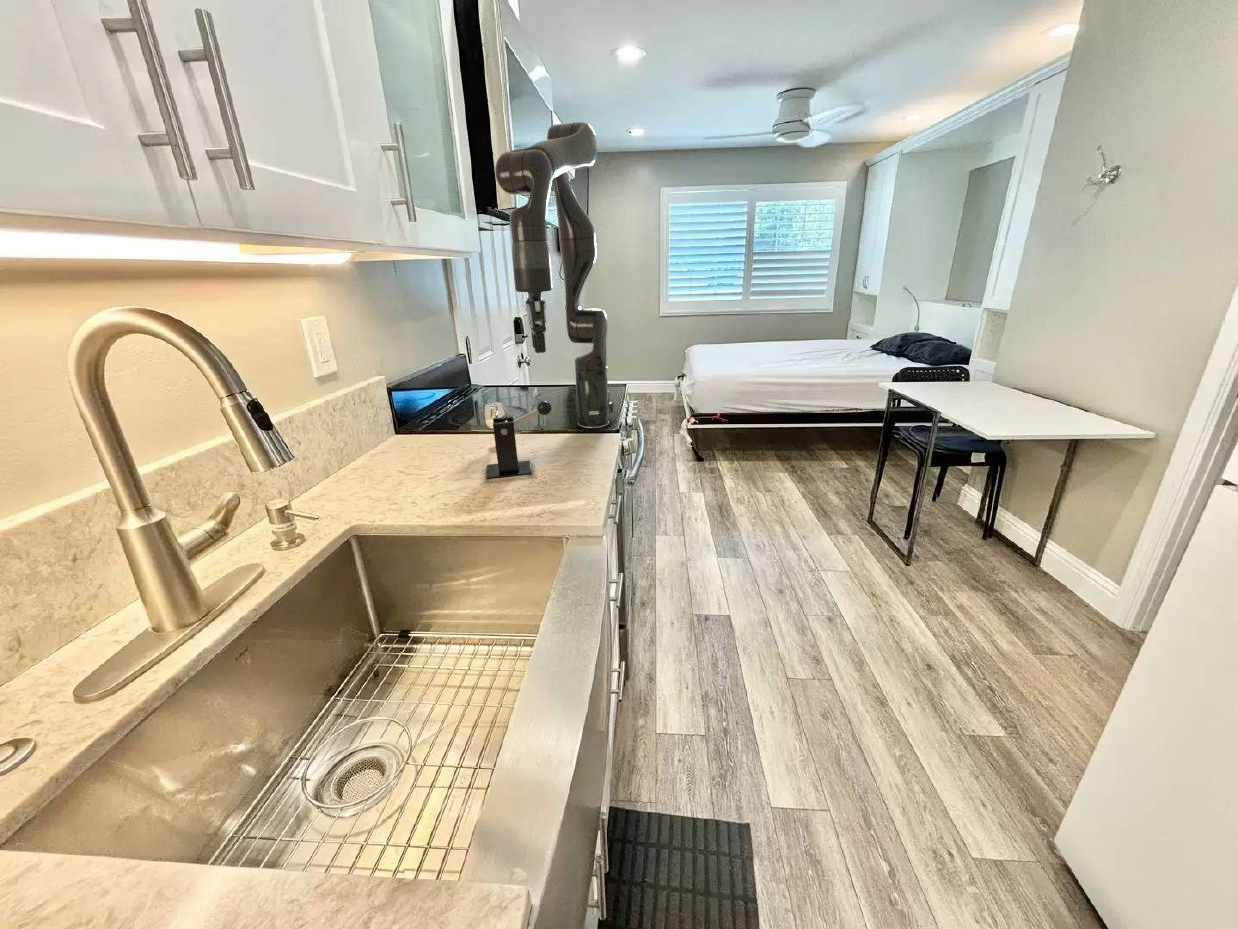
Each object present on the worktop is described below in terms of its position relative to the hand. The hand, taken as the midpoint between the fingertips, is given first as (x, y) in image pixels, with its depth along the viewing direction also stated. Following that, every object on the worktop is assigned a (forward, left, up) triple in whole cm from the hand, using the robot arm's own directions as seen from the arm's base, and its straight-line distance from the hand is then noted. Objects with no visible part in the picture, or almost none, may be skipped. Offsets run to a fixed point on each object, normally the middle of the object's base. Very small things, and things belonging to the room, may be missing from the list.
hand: (539, 349), depth 105 cm
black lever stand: (+7, -6, -28) cm, 29 cm away
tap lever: (+3, -3, -16) cm, 17 cm away
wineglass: (-4, -20, -28) cm, 35 cm away
